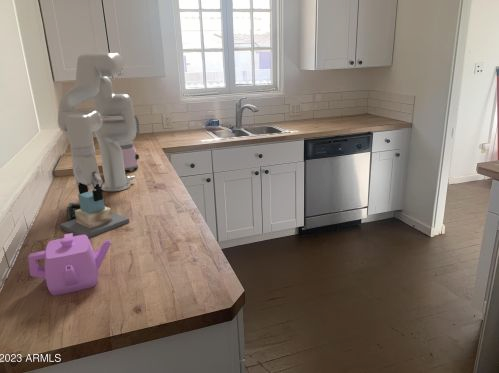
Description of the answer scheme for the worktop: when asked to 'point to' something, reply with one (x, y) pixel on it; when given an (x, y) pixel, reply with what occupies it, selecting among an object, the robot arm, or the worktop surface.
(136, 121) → the blender
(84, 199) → the teal block
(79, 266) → the teakettle
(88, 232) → the stacking base
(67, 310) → the worktop surface
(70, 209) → the chocolate cake
